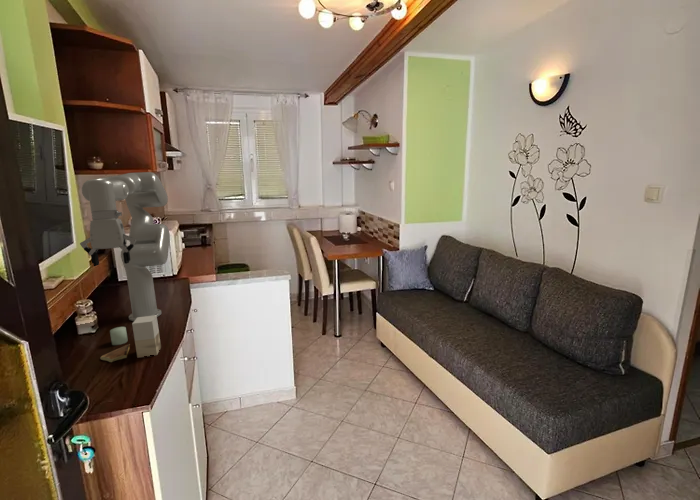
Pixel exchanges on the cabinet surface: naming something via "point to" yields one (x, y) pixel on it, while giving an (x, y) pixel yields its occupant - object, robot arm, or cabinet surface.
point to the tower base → (148, 346)
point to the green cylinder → (118, 335)
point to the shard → (116, 354)
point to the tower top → (145, 327)
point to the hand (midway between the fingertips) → (111, 264)
